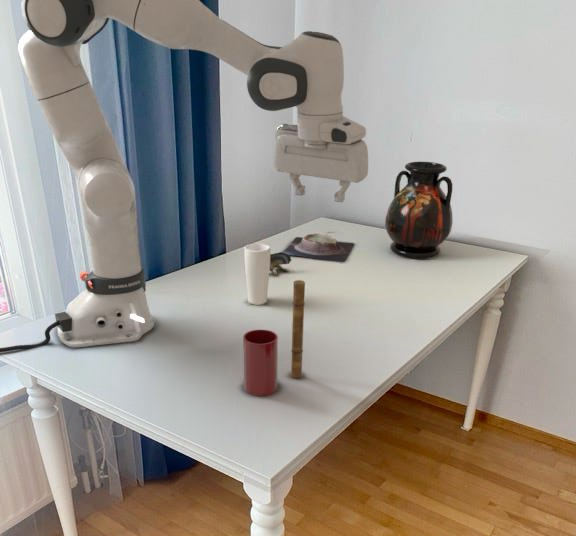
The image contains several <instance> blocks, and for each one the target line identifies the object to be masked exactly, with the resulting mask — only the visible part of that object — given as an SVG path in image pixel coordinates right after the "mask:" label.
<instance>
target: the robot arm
mask: <svg viewBox="0 0 576 536" xmlns="http://www.w3.org/2000/svg"><path fill="white" fill-rule="evenodd" d="M21 13H22V17H23V19H24V22H25V24H26V26H27V27H28V29H29V30H28V31H26V32H25V33H24V34H23V35H22V37H21V38H20V39H19V43H18V54H19V58H20V60H21V64H22V67H23V70H24V73H25V76H26V79H27V81H28V84H29V86H30V89H31V91H32V93H33V95H34V97H35V100H36V102H37V104H38V106H39V108H40V111H41V112H42V115H43V116H44V119H45V121H46V123H47V125H48V127H49V129H50V131H51V133H52V135H53V138H54V139H55V141H56V143H57V144H58V146H59V149H60V150H61V152H62V153H63V155H64V157H65V158H66V160H67V162H68V164H69V166H70V168H71V170H72V172H73V173H74V176H75V178H76V179H77V182H78V185H79V194H80V200H81V206H82V207H81V208H82V212H83V218H84V219H83V220H84V225H85V231H86V238H87V243H88V250H89V256H90V263H91V271H90V272H89V273H88V272H87V270H82V271H80V273H79V275H78V276H79V278H80V279H81V281H83V282H84V284H85V289H84V290H82V292H80V293H79V294H78V295H77V296H76V297H75V298H73V300H71V301H70V302H69V303H68V305H67V306H66V309H65V311H60V312H57V313H54V317H55V321H54V322H53V323H51V324H50V325H48V326H47V327H46V329H44V330H45V331H44V336H45V339H44V340H42V341H41V342H39V343H35V344H19V345H11V346H4V347H0V353H6V352H12V351H19V350H30V349H35V348H39V347H43V346H46V345H47V344H48V343H50V341H51V334H50V332H51V331H52V330H53V329H55V328H56V327H57V337H58V339H59V341H60V342H61V343H63V344H64V345H65V346H67V347H69V348H74V349H75V348H84V347H85V348H86V347H92V346H93V347H94V346H103V345H111V344H122V343H130V342H137V341H139V340H140V339H141V338H142V336H143V335H144V334H147V333H148V332H150V331H151V330H152V329H153V327H155V321H154V317H153V316H152V314H151V311H150V306H149V304H148V300H147V296H146V292H147V289H146V287H147V283H146V274H145V271H144V268H142V259H141V252H140V242H139V241H140V240H139V228H138V227H139V226H138V212H137V201H136V199H137V197H136V189H135V184H134V182H133V179H132V177H131V174H130V172H129V169H128V167H127V164H126V162H125V160H124V158H123V155H122V152H121V151H120V149H119V146H118V144H117V142H116V138H115V137H114V135H113V132H112V130H111V127H110V125H109V123H108V120H107V118H106V116H105V114H104V111H103V109H102V106H101V104H100V102H99V100H98V97H97V95H96V92H95V90H94V88H93V86H92V83H91V81H90V79H89V77H88V75H87V72H86V70H85V67H84V65H83V63H82V58H81V53H80V52H81V48H82V47H81V46H82V45H86V44H88V43H90V41H91V40H92V39H93V38H94V37H95V36H97V35H99V34H100V33H101V32H102V30H104V28H105V27H106V25H107V24H108V23H109V21H110V19H111V20H114V21H116V22H119V23H120V24H122V25H124V26H126V27H127V28H129V29H130V30H132V31H133V32H135V33H136V34H137V35H140V36H141V37H143V38H144V39H147V40H148V41H149V42H150V41H151V42H152V43H155V44H157V45H160V46H162V47H165V48H167V49H171V50H191V51H199V52H203V53H207V54H210V55H212V56H214V57H216V58H217V59H218V60H221V61H222V62H224V63H225V64H227V65H229V66H231V67H232V68H234V69H236V70H238V71H239V72H241V73H242V74H244V75H245V76H247V78H246V87H247V88H246V89H247V92H248V95H249V97H250V99H251V101H252V102H253V103H254V104H255V105H256V106H257V107H258V108H260V109H262V110H264V111H269V112H279V111H282V110H286V109H289V108H295V107H296V110H297V111H296V113H297V124H288V123H281V124H280V125H279V126H278V127H277V128H276V129H275V131H274V132H275V133H274V138H275V147H274V158H273V161H274V162H273V165H274V166H273V167H274V168H275V170H276V171H277V172H280V173H286V174H289V180H290V182H291V183H292V185H293V188H294V195H295V196H300V197H302V196H304V195H305V194H306V191H305V190H306V186H305V185H302V182H301V180H300V177H301V176H307V177H312V178H321V179H327V180H334V181H339V186H340V189H339V190H338V191H336V192H334V202H336V203H343V202H345V197H346V192H347V190H348V189H349V188H350V185H351V183H355V184H358V183H360V182H362V181H364V180H365V179H366V178H367V176H368V174H369V150H368V145H367V143H366V142H365V140H363V139H364V138H365V137H366V135H367V129H366V127H365V126H364V125H362V124H360V123H358V122H356V121H353V120H352V119H349V118H348V117H346V116H345V115H344V106H343V102H342V94H343V90H344V88H345V87H344V85H345V62H344V61H345V60H344V59H345V58H344V50H343V46H342V44H341V42H340V40H338V38H337V37H335V36H334V35H333V34H329V33H324V32H319V31H310V30H309V31H302V32H301V33H300V34H299V35H298V36H297V37H296V38H295V39H294V40H292V41H291V42H289V43H287V44H286V45H284V46H276V45H267V44H263V43H261V42H259V41H258V40H255V38H253V37H251V36H250V35H248V34H246V33H244V32H243V31H241V30H240V29H237V28H236V27H235V26H233V25H231V24H230V23H228V22H226V21H225V20H223V19H222V18H220V17H219V16H218V15H216V14H215V13H214V12H213V11H212V10H211V9H210V8H208V7H207V6H206V5H205V4H204V3H203V2H202V1H201V0H21Z"/></svg>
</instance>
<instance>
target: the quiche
mask: <svg viewBox="0 0 576 536" xmlns="http://www.w3.org/2000/svg"><path fill="white" fill-rule="evenodd" d="M353 246H354V243H353V242H346V241H337V240H336V238H335V237H332V236H330V235H328V234H322V233H311V234H307V235H305V236H304V237H300V236H297V237H295V238H294V239H293V240H292V242H291V243H290V244H289V245H288V247H286V248H285V250H284V251H282V253H286V254H288V255H289V256H294V257H304V258H309V259H310V258H311V259H316V260H324V261H330V262H339V263H341V262H345V260H346V259H347V257H348V255H349V253H350V252H351V250H352V248H353Z"/></svg>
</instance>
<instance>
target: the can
mask: <svg viewBox="0 0 576 536" xmlns="http://www.w3.org/2000/svg"><path fill="white" fill-rule="evenodd" d="M242 344H243V345H242V348H243V349H242V350H243V351H242V353H243V354H242V355H243V389H244V391H245V392H246V393H247V394H249V395H252V396H256V397H265V396H269V395H272V394H274V393H275V392H276V391H277V389H278V363H279V362H278V359H279V357H278V355H279V354H278V353H279V352H278V347H279V336H278V334H277V333H276V332H275V331H272V330H268V329H252V330H249V331H246V332H245V333H244V334H243V336H242Z"/></svg>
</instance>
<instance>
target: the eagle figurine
mask: <svg viewBox="0 0 576 536" xmlns="http://www.w3.org/2000/svg"><path fill="white" fill-rule="evenodd" d="M292 261H293V259H292V257H291V255H288V254H286V253H283V251H282V252H274V253H270V271H271V272H272V273H273V274H274V275H275V276H277V269H278V270H282V271H284V272H287V271H288V269H287V268H284V267H283V266H282V265H289V264H290V263H291V262H292Z"/></svg>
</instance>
